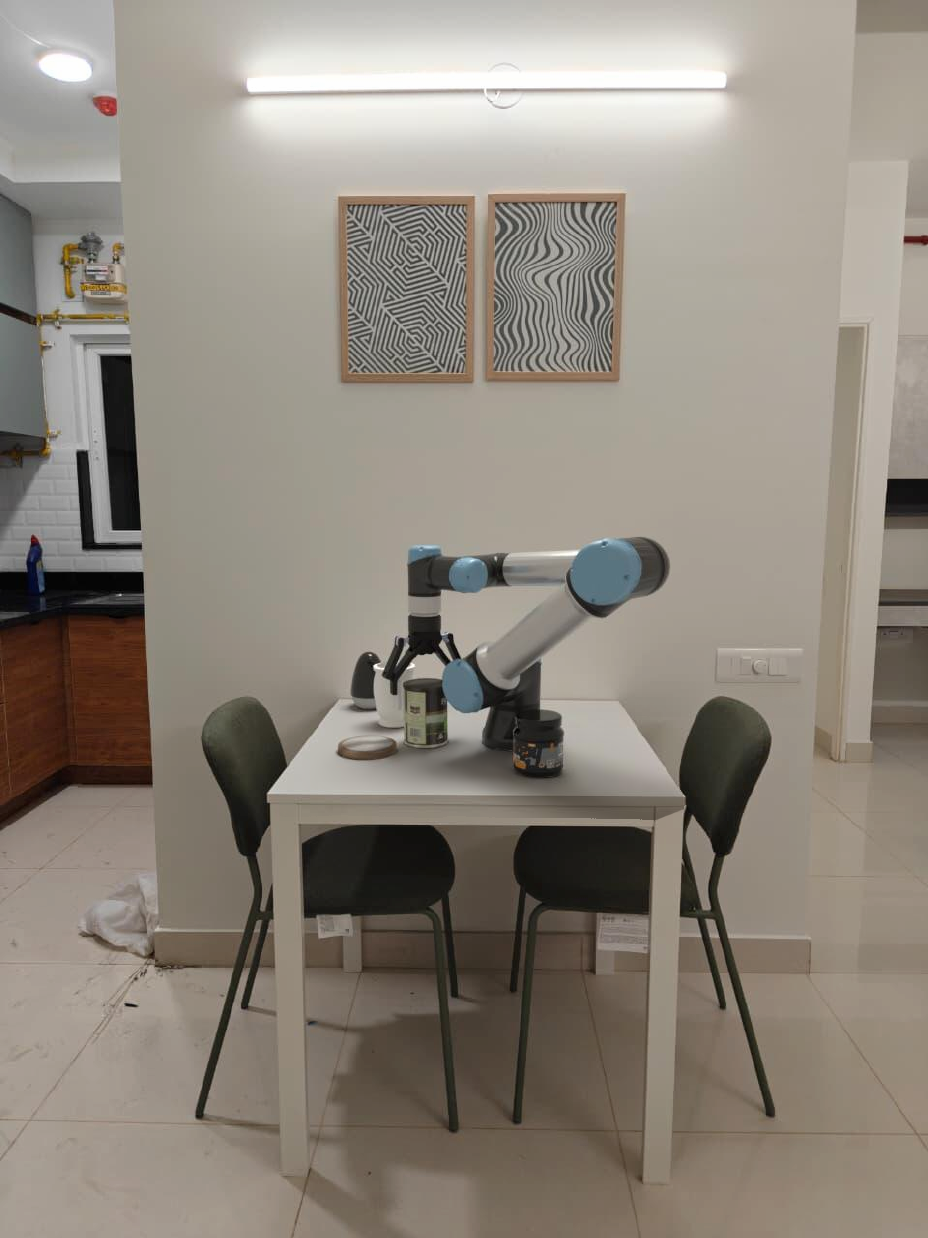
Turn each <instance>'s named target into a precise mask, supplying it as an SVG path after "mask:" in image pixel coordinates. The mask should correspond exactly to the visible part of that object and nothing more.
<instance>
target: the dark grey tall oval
mask: <svg viewBox="0 0 928 1238" xmlns="http://www.w3.org/2000/svg"><path fill="white" fill-rule="evenodd" d="M378 663H382V661H381V659H380V657H379V656H378V655H377V653H375V652H373V651H365V652H362V654H360V655H359V657H358V659H357V660H356V662H355V665H354V669H353V672H352V676H351V683H350V692H349V693H350V694H349V695H350V696H351V699H352V702H353V704H354V705H356V706H357V707H358V708H360V709H362V710H374V709H376V710H377V708H376V701H375V697H374V678H375V674H376V672H375V671H374V665H375V664H378Z"/></svg>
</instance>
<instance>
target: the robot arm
mask: <svg viewBox="0 0 928 1238" xmlns="http://www.w3.org/2000/svg"><path fill="white" fill-rule="evenodd" d="M406 566H407V612H408V613H409V614H408V615H407V631H408V634H407V636H406V637H403V636H400V635H399V636H398V635H397V636H395V638H394V646H393V648H392V650H391V653H390V655H389V657H388V660H387V661H386V662H387V664H386V666H385V668H384V671H383V673H382V677H383V678H385V679H387V680H390V693H391V694H392V695H394V708H396V709H398V710H402V682H401V681H399V678H400V677H401V675H402V674H403V673H404V671H405V670H406V668H407V667H408V666H409V664H410V663H412V662H413V660H414V659H416V658H417V656H418V655H419V656H424V655H433V654H435V656H436V657H437V658H438V659H439V661H440V662H441V663H442V664H443V665H444V669H443V671H442V675H441V679H442V681H443V683H442V687H443V692H444V694H445V697H446V699H447V703H449V705H450V706H451V707H452V708H453V709H454V710H456V711H457V712H458V711H459V712H460V713H462V714H472V713H479V711H481V710H486V709H488V708H489V709H488V710H489V711H488V714H487V718H486V720H485V721H486V722H485V724H484V727H483V730H482V733H481V741H482V743H483V745H485V746H486V747H490V748H492V749H496V750H501V751H507V752H508V751H509V752H513V729H514V728H515V727H516V726H517V725H516V724H515V716H516V714H517V713H518V712H520V711H524V710H531V709H541V692H542V691H541V690H542V689H541V684H542V683H541V682H542V681H541V680H542V679H541V676H542V665H543V663H542V658H543V657H544V656H546V655H547V654H548V653H549V652H551V651H552V650H553V649H555V648H556V647H557V646H559V645H560V644H561V643H562V642H564V641H565V640H566V639H567V638H569V637H570V636H571V635H572V634H574V633H575V632H577V631H578V630H579V629H580V628H581V627H583V626H584V625H586V623H588V622H589V621H591V620H592V619H593V618H596V619H599V620H600V619H606V618H607V617H609V616H610V615H611V614H613V613H614V612H615V611H617V610H618V609H619V608H621V607H622V606H623V605H625V604H626V603H627V602H629V601H631V600H633V599H638V598H645V597H648V596H650V595H653V594H655V593H656V592H658V591H659V590H660V589H661V588H663V586H664V585H665V583H666V582H667V580H668V578H669V575H670V569H671V562H670V557H669V555H668V552H667V551H666V550H665V548H664V547H663V546H662V545H661V543H659V542H657V541H656V540H654V539H651V538H648V537H646V536H633V537H631V536H630V537H624V538H623V537H621V538H616V537H615V538H614V537H612V538H611V537H606V538H602V539H598V540H595V541H592V542H590V543H588V544H585V546H583V547H582V548H581V549H571V550H569V549H567V550H566V549H565V550H550V551H549V550H545V551H543V550H542V551H528V552H527V551H526V552H525V551H524V552H507V553H506V552H496V553H490V554H479V555H467V556H446V555H443V553H442V548H441V547H440V546H439V545H432V544H431V545H430V544H425V545H424V544H423V545H422V544H421V545H419V544H418V545H417V544H416V545H412V546H410V547H409V548H408V552H407V563H406ZM545 586H546V587H549V586H551V587H553V586H554V587H558V588H557V589H556V590H555V591H553V593H551V594H550V595H549V596H547V597H546V599H544V600H543V601H542V602H540V603H539V604H538V605H537V606H535V608H533V609H532V610H531V611H529V613H528V614H526V615H525V616H524V617H522V618H521V619H520V620H519V621H517V622H516V623H515V624H514V625H513V626H512V627H511V628H509V629H508V630H507V631H506V632H505V633H504V634H502V635H501V636H500V637H498V639H496V640H495V641H494V642H493V641H484V642H482V643H481V644H480V645H478V646H477V647H476V648H474V650H472V651H471V652H470V653H469V654H467V655H466V656H464V657H463V658H462V657H461V655H460V652H459V650H458V648H457V646H456V643H455V639H454V638H455V637H454V634H453V633H451V632H450V631H445V632H444V633H442V632H441V630H442V616H441V615H440V613H441V612H442V590H443V591H451V592H459V593H460V594H477V593H479V592H480V591H481V590H482V589H487V588H499V587H507V588H508V587H545ZM559 586H560V587H559ZM442 642H444V644H445V647H446V648H447V651H448V653H449V655H450V657H451V659H452V660H450V658H449V657H448V656H447V655H446V654H445V652H444V650H443V649H442V648H441V646H440V644H441V643H442ZM406 644H408V645H409V646H408V648H407V649H406V650H405V654H404V655H403V656H402V658H401V655H402V654H403V650H404V648H405V647H406V646H407V645H406ZM400 658H401V659H400ZM398 662H399V663H398ZM397 663H398V665H397ZM396 665H397V666H396Z"/></svg>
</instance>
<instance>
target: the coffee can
mask: <svg viewBox="0 0 928 1238" xmlns="http://www.w3.org/2000/svg"><path fill="white" fill-rule="evenodd" d="M442 683H443V681H442V678H434V677H421V678H419V677H417V678H415V679H411V680H407V681H405V682H403V687H404V727H403V729H404V731H403V733H404V734H403V735H404V737H403V738H404V739H403V740H404V741H403V743H404V744H405V745H406V746H408V747H410V748H415V749H416V748H417V749H434V748H435V749H436V748H440V747H443V746H445V745H447V744H448V743H449V740H448V738H449V737H448V736H449V735H448V732H449V731H448V701H447V699H446V697H445V694H444V692H443V687H442Z"/></svg>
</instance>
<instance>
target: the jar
mask: <svg viewBox="0 0 928 1238" xmlns="http://www.w3.org/2000/svg"><path fill="white" fill-rule="evenodd" d="M387 662H388V661H385V662H381V663H378V664H375V665H374V671H375V672H376V674H375V678H374V697H375V701H376V712H377V714H378V716H379V719H378V725H379V726H380V727H383V728H388V729H397V728H404V687H403V682H405V681H407V680H411V679H416V678H415V674H414V671H415V669H416V664H415V663H412V662H411V663H410V664H409V666H408V667H407V668H406V670H405V671H404V673H403V674H402V675H401V677H400V678H399V681H401V682H402V710H398V709H396V708H394V695H392V694H391V693H390V680H387V679H385V678H383V677H382V673H383V671H384V668H385V666H386V664H387ZM399 662H400V661H398V663H399ZM398 663H397V665H398ZM397 665H396V666H397Z"/></svg>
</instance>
